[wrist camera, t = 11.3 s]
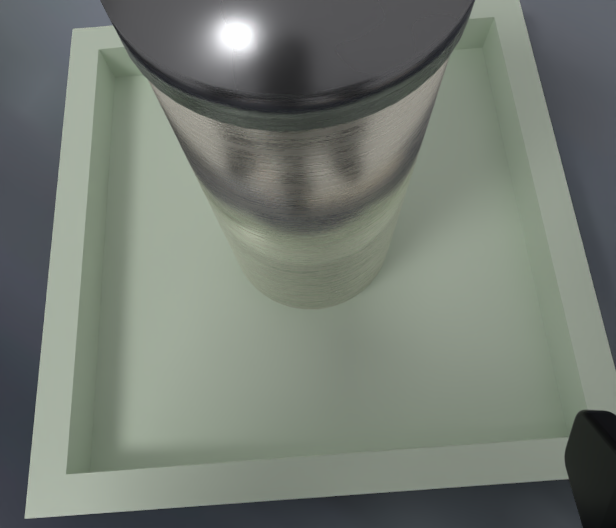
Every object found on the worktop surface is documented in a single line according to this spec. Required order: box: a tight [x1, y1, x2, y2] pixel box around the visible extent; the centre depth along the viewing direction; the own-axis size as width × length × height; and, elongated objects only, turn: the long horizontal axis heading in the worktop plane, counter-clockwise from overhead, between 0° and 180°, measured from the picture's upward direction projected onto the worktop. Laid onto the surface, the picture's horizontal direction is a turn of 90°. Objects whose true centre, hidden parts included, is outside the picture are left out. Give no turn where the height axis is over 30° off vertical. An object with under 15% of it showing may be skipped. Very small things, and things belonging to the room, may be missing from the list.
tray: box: [25, 0, 616, 519], centre depth 17 cm, size 16×16×2 cm
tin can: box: [100, 0, 475, 309], centre depth 12 cm, size 5×5×11 cm
